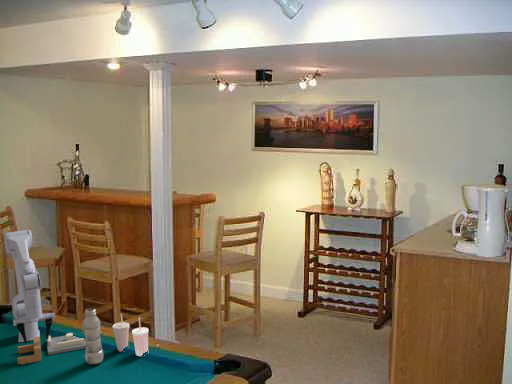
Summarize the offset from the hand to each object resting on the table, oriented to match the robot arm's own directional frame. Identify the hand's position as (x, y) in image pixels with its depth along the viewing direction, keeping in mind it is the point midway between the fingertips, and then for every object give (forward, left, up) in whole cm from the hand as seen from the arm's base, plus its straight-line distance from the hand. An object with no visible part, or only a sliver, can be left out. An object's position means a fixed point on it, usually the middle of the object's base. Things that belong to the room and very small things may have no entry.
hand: (36, 340), depth 215 cm
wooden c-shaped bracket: (0, -3, -6) cm, 6 cm away
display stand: (-5, +12, -6) cm, 14 cm away
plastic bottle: (+17, +19, -6) cm, 26 cm away
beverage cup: (+17, +36, -6) cm, 40 cm away
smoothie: (+10, +30, -6) cm, 32 cm away
